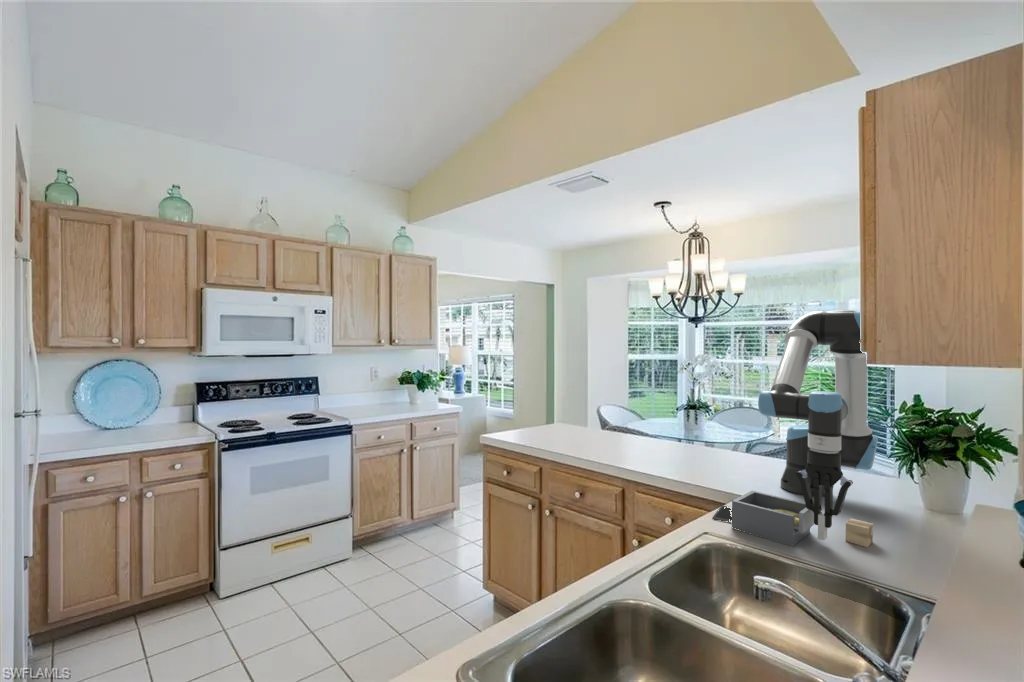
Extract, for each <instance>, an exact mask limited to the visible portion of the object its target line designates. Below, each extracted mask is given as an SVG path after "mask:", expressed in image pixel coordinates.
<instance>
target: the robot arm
mask: <svg viewBox="0 0 1024 682" xmlns="http://www.w3.org/2000/svg"><path fill="white" fill-rule="evenodd" d="M860 310H861V309H836V310H814V311H811V312H808V313H806V314H804V315H803V316H801V317H799V318H798V319H796V320H795V321H794V322H793V323H792V324H791V325H790V327H789V328H788V329H787V331H786V333H785V337H784V344H785V347H784V350H783V352H782V356H781V359H780V361H779V364H778V367H777V370H776V374H775V377H774V379H773V381H772V385H771V389H770V390H762V391H761V392H760V393H759V394H758V400H757V401H758V402H757V403H758V406H757V407H758V411H759V413H760V414H762V415H763V416H766V417H773V418H781V419H783V418H784V419H793V420H795V419H796V420H801V421H802V420H803V421H807V422H808V423H806V424H796V425H792V426H791V425H790V426H789V427H788V428H787V431H786V438H785V440H786V453H785V454H786V462H785V464H786V465H785V469H784V471H783V472H782V475H781V478H780V483H779V484H780V485H781V486H780V485H779V486H780V488H781V487H782V489H783V488H784V489H786V490H785V491H787V490H788V491H787V492H789V491H791V492H790V493H793V492H794V493H793V494H797V495H802V497H803V501H804V503H805V504H806V508H807V509H810V510H812V511H813V512H814V525H816V526H817V539H818V540H821V541H825V540H826V539H827V538H828V529H830V528H831V527H832V526H833V525H832V524H833V523H832V521H833V516H835V517H836V516H839V515H840V514H841V511H842V508H843V505H844V502H845V499H846V496H847V493H848V490H849V488H850V487H851V486H852V485H853V484H854V481H853V480H851V479H848V478H846V476H844V472H843V471H842V467H844V468H849V469H854V470H865V471H867V470H871V469H872V467H874V461H875V456H876V453H877V447H878V441H879V438H878V436H876V435H875V434H874V435H873V430H872V428H871V427H870V426H868V425H867V424H868V423H867V422H868V417H867V416H868V415H867V413H868V410H867V409H868V406H867V405H868V403H867V402H868V396H867V394H868V391H867V389H868V388H867V387H868V385H867V384H868V382H867V381H868V380H867V379H868V378H867V377H868V376H867V374H868V373H867V372H868V371H867V369H868V368H867V366H868V365H867V364H866V354H865V353H862V352H861V351H860V343H859V340H860ZM817 346H829V352H830V353H831V354H833V356H835V359H834V360H835V363H834V364H835V367H834V368H835V391H829V390H827V391H825V390H824V391H823V390H817V391H815V390H814V391H810V392H809V393H801V392H800V391H801V389H802V384H803V382H804V380H805V379H804V378H805V375H806V371H807V368H808V364H809V361H810V357H811V354H812V351H814V350H815V349H816V348H817ZM839 481H840V483H839V484H840V485H841V487H840V489H839V492H838V494H837V497H836V501H835V504H834V502H833V501H834V499H833V497H834V492H833V491H834V487H835V486H834V485H835V484H837V483H838V482H839ZM784 489H783V490H784ZM823 496H824V512H823V508H822V501H823V500H822V498H823ZM833 504H834V505H833Z"/></svg>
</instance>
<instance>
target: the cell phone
mask: <svg viewBox="0 0 1024 682" xmlns="http://www.w3.org/2000/svg"><path fill="white" fill-rule="evenodd" d="M724 507H726V508H725V509H724ZM718 510H719V511H718ZM718 510H717V511H716V512H715V513H714V515H713V516H712V520H713V519H714V520H713V521H716V520H721V521H728V522H729V519H730V521H731V520H732V517H731V516H730V515H731V514H730V511H729V510H731V509H730V508H727V505H720V507H719V508H718ZM731 512H732V511H731ZM721 521H720V522H721Z"/></svg>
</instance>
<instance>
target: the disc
mask: <svg viewBox="0 0 1024 682" xmlns="http://www.w3.org/2000/svg"><path fill="white" fill-rule="evenodd" d="M775 511H779V512H783V513H787V514H791V515H795V520H794V526H799V514H797V513H795V512H792V511H787V510H775Z"/></svg>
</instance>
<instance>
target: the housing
mask: <svg viewBox="0 0 1024 682" xmlns="http://www.w3.org/2000/svg"><path fill="white" fill-rule="evenodd" d="M731 507H732V524H731V528H732V527H733V528H736V529H739V530H741V531H740V532H742V531H745V532H747V533H746V534H749V533H751V534H750V535H752V534H754V535H753V536H755V535H757V536H756V537H759V536H761V537H760V538H762V537H763V539H765V538H767V539H766V540H769V539H770V541H772V540H773V541H772V542H775V541H776V543H780V544H783V545H786V546H789V547H794V546H795V545H796V544H797V543H799V542H800V541H801V540H802V539H804V537H806V536H808V535H809V534H810V533H811V527H810V528H809V529H808V530H806V531H805V532H804V533H800V532H799V530H796V529H794V520H795V515H791V514H787V513H783V512H779V511H775V510H787V511H792V512H795V513H797V514H799V512H800V511H802V510H803V509H805V508H806V504H805V502H802V501H797V500H794V499H789V498H787V497H782V496H776V495H773V494H769V493H765V492H764V493H763V492H760V491H757V490H751V491H748V492H747V493H744V494H743V495H741V496H739V497H737V498H735V499H734V500H732V501H731ZM768 508H769V509H768ZM739 530H738V531H739ZM745 532H744V533H745Z"/></svg>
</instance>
